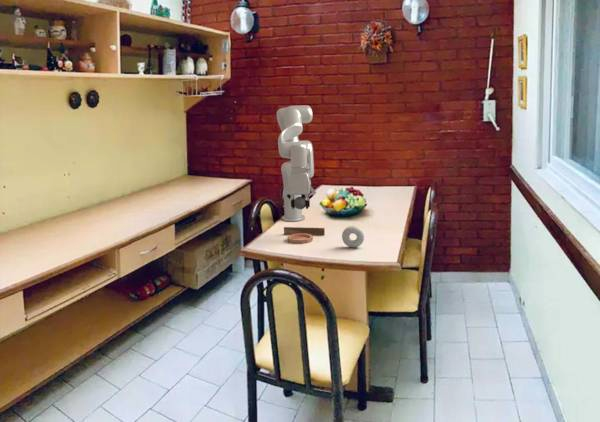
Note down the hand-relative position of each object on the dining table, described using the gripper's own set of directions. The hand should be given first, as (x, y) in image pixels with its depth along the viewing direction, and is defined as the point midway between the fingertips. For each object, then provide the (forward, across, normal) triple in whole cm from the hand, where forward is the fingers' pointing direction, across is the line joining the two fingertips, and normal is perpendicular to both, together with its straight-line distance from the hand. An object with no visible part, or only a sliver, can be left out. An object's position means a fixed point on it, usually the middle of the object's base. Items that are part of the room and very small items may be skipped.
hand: (300, 208), depth 262 cm
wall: (+15, 0, -8) cm, 17 cm away
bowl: (+15, 0, +2) cm, 15 cm away
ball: (-2, 0, 0) cm, 2 cm away
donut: (+16, -26, +11) cm, 32 cm away
